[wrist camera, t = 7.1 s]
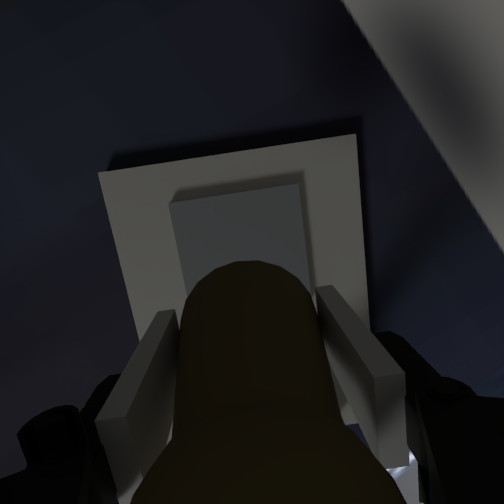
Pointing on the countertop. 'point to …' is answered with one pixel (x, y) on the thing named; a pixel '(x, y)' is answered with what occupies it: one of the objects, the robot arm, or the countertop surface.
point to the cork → (258, 403)
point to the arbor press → (241, 224)
